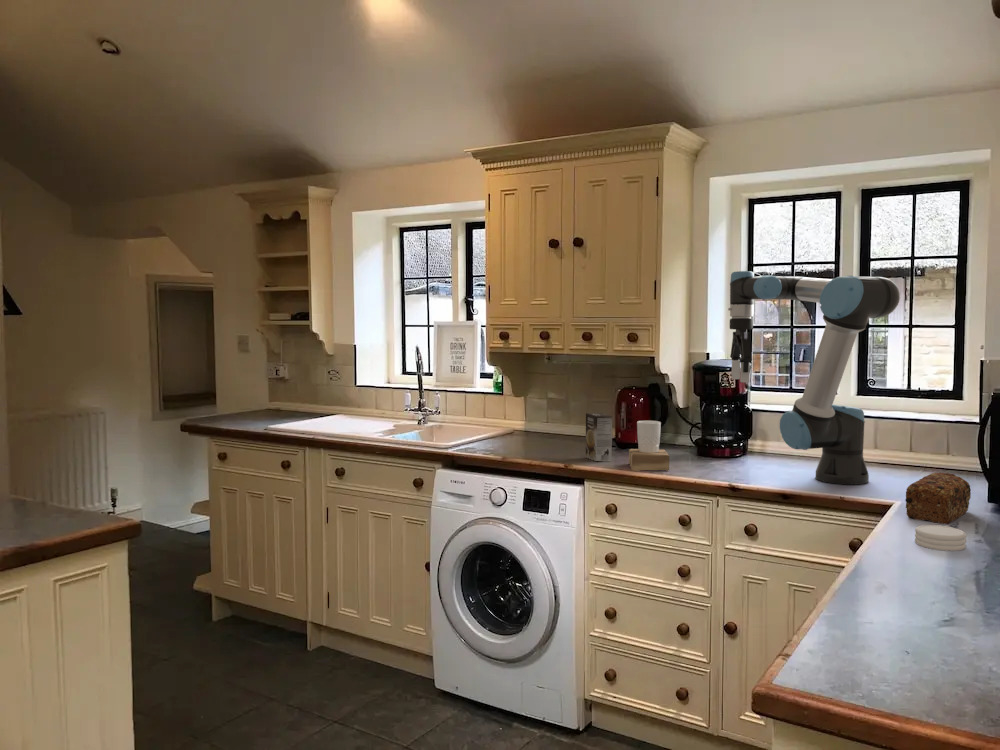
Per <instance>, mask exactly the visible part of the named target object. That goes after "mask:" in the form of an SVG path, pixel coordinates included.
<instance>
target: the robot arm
mask: <svg viewBox="0 0 1000 750" xmlns="http://www.w3.org/2000/svg"><path fill="white" fill-rule="evenodd" d="M900 293H901V292H900V290H899V288H898V286H897V285H896V283H895V282H894V281H892V280H891V279H889V278H887V277H883V276H856V275H855V276H853V275H845V276H837V277H835V278H833V279H832V278H831V279H829V278H817V277H806V276H801V275H800V276H797V275H796V276H784V275H783V276H781V275H780V276H778V275H777V276H776V275H775V276H774V275H770V274H769V275H760V276H755V273H754V272H753V271H751V270H749V271H747V270H742V271H738V270H737V271H733V272H731V274H730V282H729V307H728V311H729V316H730V317H731V318H730V319H729V330H735V331H732V340H731V341H732V342H731V350H730V358H731V380H739V381H740V383H750V367H751V366H750V364H751V363H750V362H751V361H752V350H751V343H750V342H751V340H750V339H751V338H750V335H751V334H750V332H748V330H752V329H753V328H754V319H753V318H752V317H754V300H763V301H764V300H790V301H791V300H792V301H793V300H794V301H801V302H802V301H803V302H811V303H812V302H813V303H819V304H820V306H819V308H820V311H821V312H822V313H823V316H822V320H823V322H824V323H825V327H824V331H823V334H822V337H821V340H820V343H819V344H818V345H819V346H818V349H817V352H816V354H815V358H814V360H813V363H812V367H811V370H810V373H809V375H808V378H807V381H806V385H805V387H804V391H803V394H802V397H799V398H797V399H796V400H795V401H794V404H793V407H792V410H788V411H786V412H784V413H783V414H782V415H781V417H780V419H779V431H780V434H781V438H782V439H783V442H784V443H785V444H786V445H787V447H789V448H791V449H794V450H803V451H808V450H811V449H812V450H813V449H821V450H822V452H821V456H820V459H819V461H818V464H817V467H816V469H815V479H816V480H818V481H820V482H823V483H830V484H835V485H836V484H837V485H862V484H863V485H864V484H867V483H869V481H870V480H869V479H870V478H869V477H870V475H869V472H868V471H869V470H868V469H867V464H866V462H865V459H864V442H865V441H864V439H865V423H866V421H865V413H864V410H863V409H862V408H859V407H855V406H848V405H839V404H834V401H835V398H836V395H837V392H838V390H839V387H840V384H841V381H842V378H843V375H844V373H845V370H846V366H847V364H848V361H849V359H850V356H851V353H852V350H853V347H854V344H855V342H856V339H857V335H858V334H859V333H860V332H863V331H864V330H866V328H867V325H868V322H869V319H879V318H883V317H886V316H888V315H889V316H890V314H891V313H893V312H894V311H895V310H896V309H897V307H898V305H899V303H900V299H901V294H900Z"/></svg>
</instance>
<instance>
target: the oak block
mask: <svg viewBox="0 0 1000 750" xmlns="http://www.w3.org/2000/svg"><path fill="white" fill-rule="evenodd" d="M628 464H630V465H629V467H630V466H631V467H630V468H631V471H640V470H667V471H666V472H668V470H669V471H670V455H669V454H668V452H667V451H666V450H665V449H664V448H663V449H662V448H659V452H657V453H643V452H639V448H630V449H628Z"/></svg>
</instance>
